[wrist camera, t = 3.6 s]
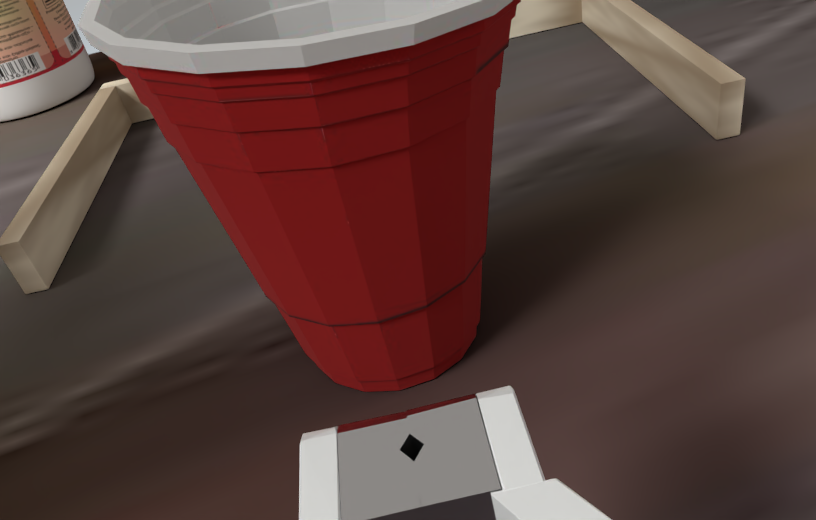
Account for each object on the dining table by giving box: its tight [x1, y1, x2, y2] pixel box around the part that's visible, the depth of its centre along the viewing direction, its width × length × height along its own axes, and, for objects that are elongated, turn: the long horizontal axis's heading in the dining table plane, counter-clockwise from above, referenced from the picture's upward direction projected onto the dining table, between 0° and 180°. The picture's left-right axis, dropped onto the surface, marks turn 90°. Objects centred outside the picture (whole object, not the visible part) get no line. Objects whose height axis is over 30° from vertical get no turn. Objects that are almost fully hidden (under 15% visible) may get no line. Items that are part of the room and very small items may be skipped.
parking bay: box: [0, 0, 745, 294], centre depth 36 cm, size 31×18×2 cm, turn 97°
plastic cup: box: [78, 0, 521, 392], centre depth 20 cm, size 11×11×12 cm
